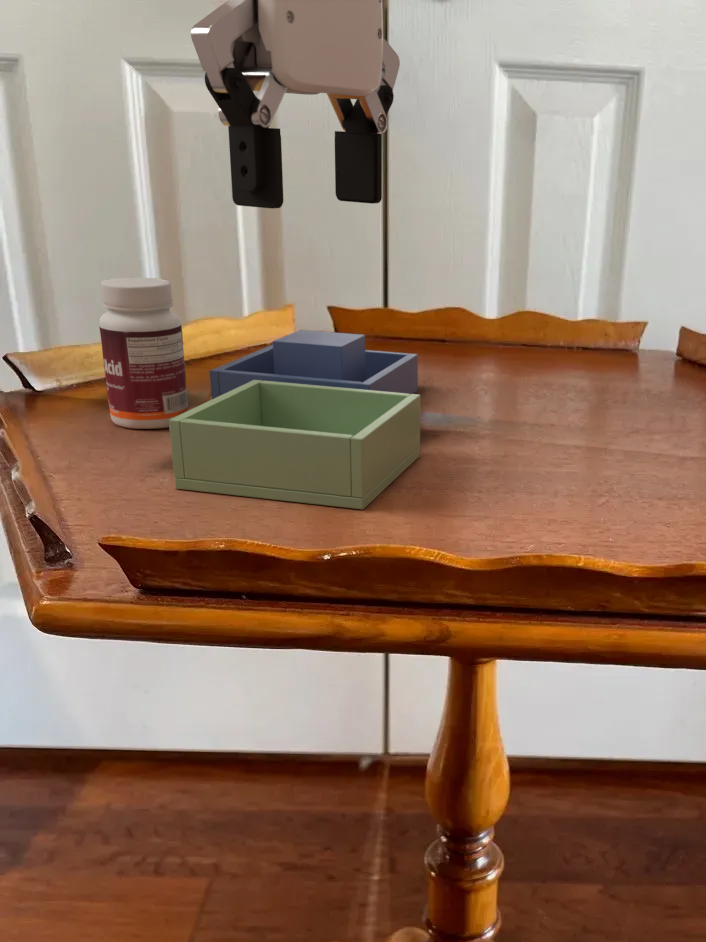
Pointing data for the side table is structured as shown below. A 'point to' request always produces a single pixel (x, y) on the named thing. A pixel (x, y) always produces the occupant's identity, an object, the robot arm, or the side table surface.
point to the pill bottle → (142, 353)
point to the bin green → (297, 443)
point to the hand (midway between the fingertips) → (311, 204)
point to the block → (321, 355)
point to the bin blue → (380, 376)
